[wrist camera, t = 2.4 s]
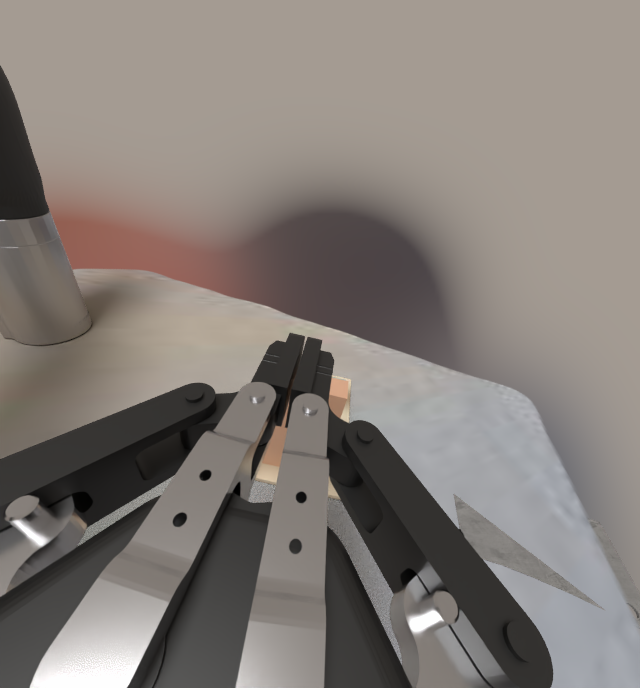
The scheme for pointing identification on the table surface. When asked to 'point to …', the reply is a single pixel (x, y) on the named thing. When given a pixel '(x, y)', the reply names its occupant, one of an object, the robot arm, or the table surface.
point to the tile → (278, 438)
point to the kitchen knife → (516, 557)
